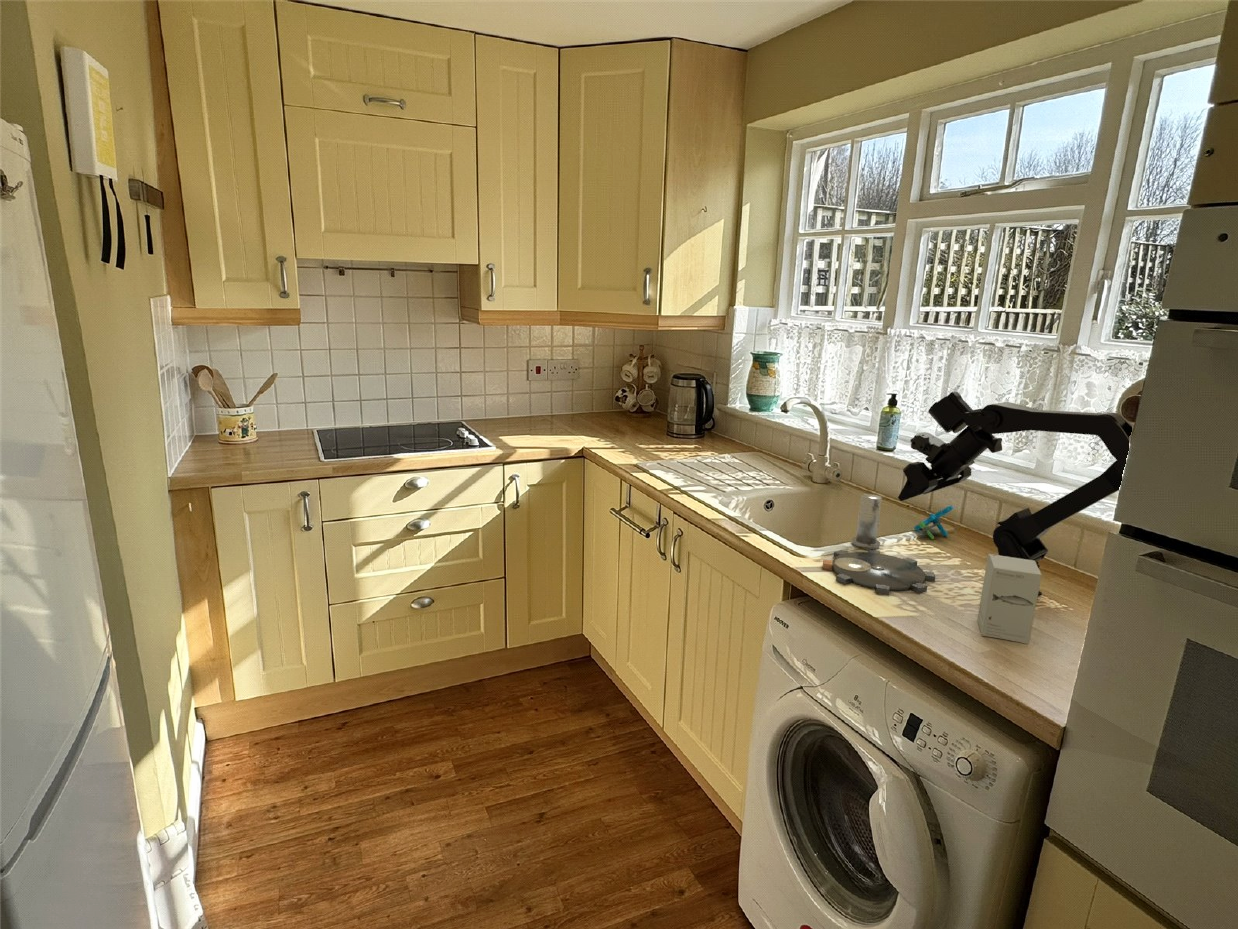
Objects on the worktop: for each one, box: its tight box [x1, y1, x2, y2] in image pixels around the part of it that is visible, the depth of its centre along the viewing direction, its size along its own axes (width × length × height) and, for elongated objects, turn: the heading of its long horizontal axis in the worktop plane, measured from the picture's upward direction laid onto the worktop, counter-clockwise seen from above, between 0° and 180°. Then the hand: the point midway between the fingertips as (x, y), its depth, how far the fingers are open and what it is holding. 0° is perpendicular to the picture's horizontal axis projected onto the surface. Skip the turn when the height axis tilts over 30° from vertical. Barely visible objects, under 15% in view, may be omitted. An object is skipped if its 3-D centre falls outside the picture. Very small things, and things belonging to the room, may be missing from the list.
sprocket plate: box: [822, 549, 936, 596], centre depth 149 cm, size 22×22×1 cm
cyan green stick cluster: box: [913, 505, 954, 540], centre depth 173 cm, size 11×6×10 cm
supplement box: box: [976, 553, 1043, 645], centre depth 123 cm, size 7×7×13 cm
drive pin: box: [851, 493, 883, 551], centre depth 164 cm, size 6×6×12 cm
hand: (911, 496), depth 158 cm, fingers open, 9 cm apart
